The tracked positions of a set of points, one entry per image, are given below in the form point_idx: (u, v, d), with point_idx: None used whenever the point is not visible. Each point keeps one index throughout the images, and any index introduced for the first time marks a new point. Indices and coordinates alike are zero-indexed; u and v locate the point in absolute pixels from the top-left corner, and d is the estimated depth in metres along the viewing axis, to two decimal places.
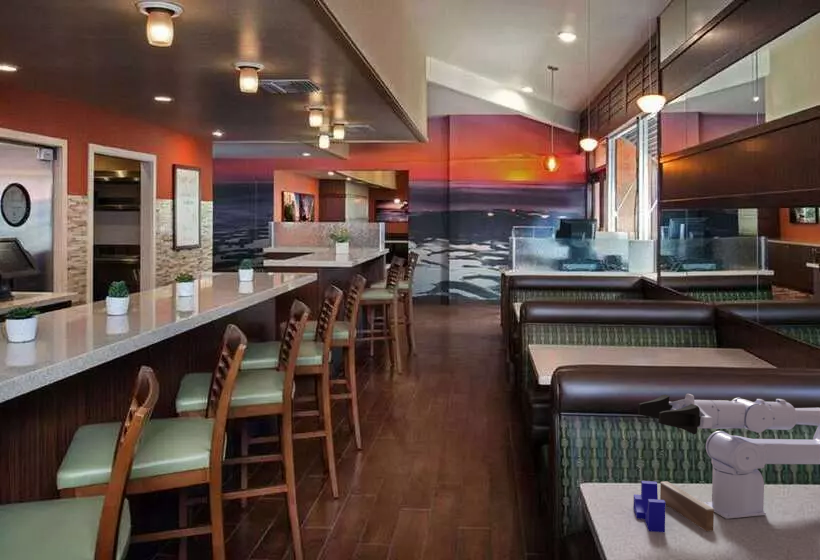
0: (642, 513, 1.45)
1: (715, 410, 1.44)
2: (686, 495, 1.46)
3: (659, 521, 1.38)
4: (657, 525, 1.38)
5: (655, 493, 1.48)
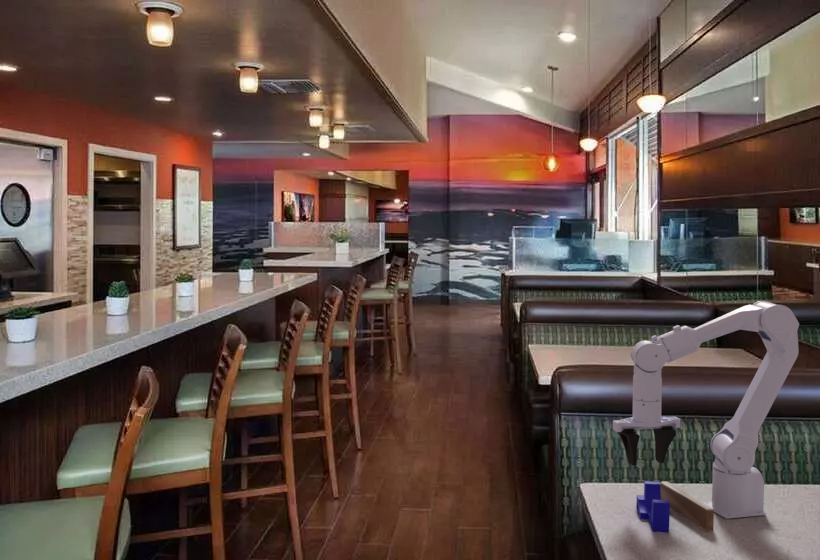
0: (646, 513, 1.44)
1: None
2: (686, 495, 1.46)
3: (663, 522, 1.38)
4: (662, 525, 1.38)
5: (658, 493, 1.48)
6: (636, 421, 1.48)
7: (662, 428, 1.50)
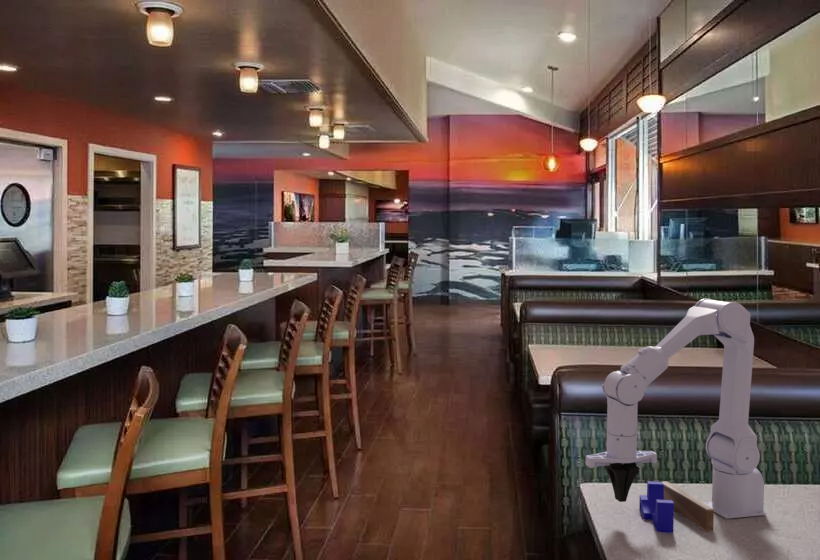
0: (649, 513, 1.44)
1: (607, 433, 1.43)
2: (686, 495, 1.46)
3: (667, 522, 1.38)
4: (666, 525, 1.38)
5: (661, 493, 1.48)
6: (610, 456, 1.41)
7: None
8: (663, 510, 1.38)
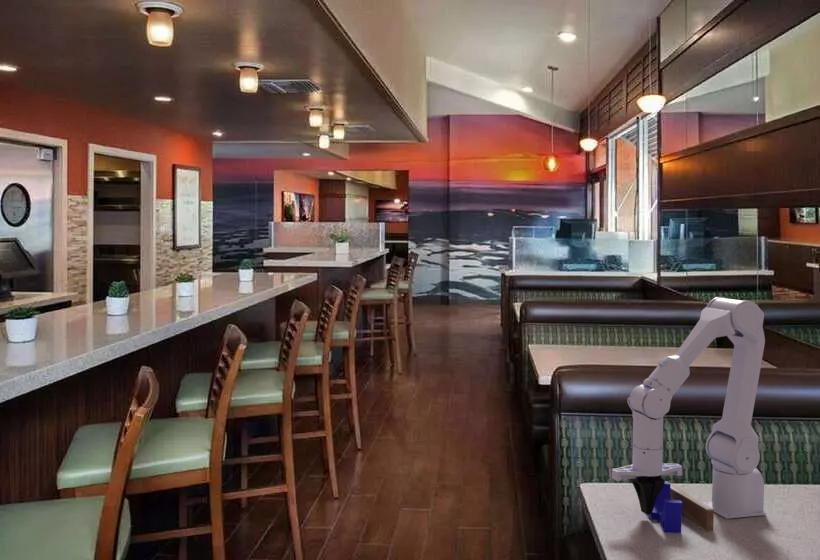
0: (656, 513, 1.44)
1: None
2: (686, 495, 1.46)
3: (676, 521, 1.38)
4: (674, 525, 1.38)
5: (668, 493, 1.47)
6: (636, 469, 1.42)
7: None
8: (671, 510, 1.38)
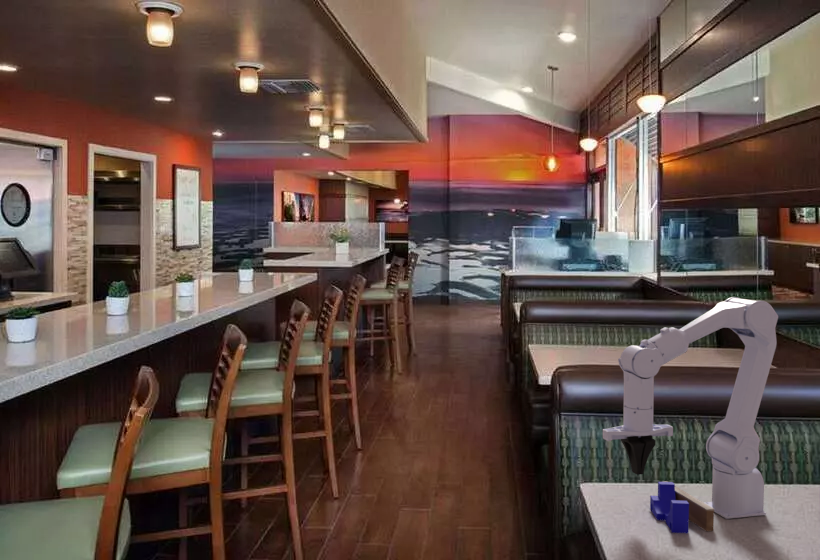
0: (662, 514, 1.44)
1: None
2: (686, 495, 1.46)
3: (683, 522, 1.38)
4: (681, 526, 1.38)
5: (673, 494, 1.47)
6: (627, 429, 1.42)
7: None
8: (678, 511, 1.38)
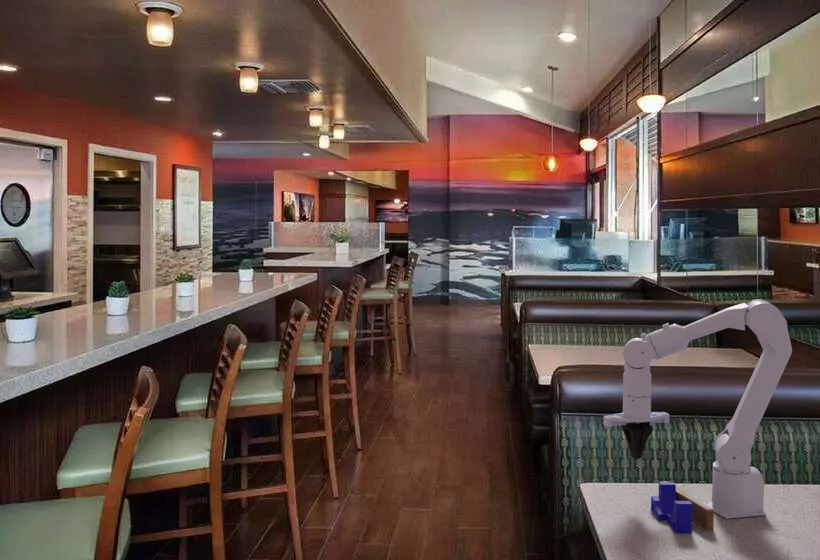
0: (664, 515, 1.44)
1: (623, 396, 1.54)
2: (686, 495, 1.46)
3: (686, 523, 1.37)
4: (685, 526, 1.37)
5: (674, 494, 1.47)
6: (626, 416, 1.52)
7: None
8: (682, 511, 1.37)
